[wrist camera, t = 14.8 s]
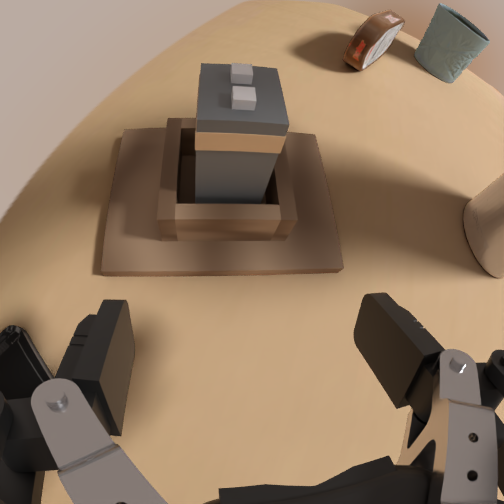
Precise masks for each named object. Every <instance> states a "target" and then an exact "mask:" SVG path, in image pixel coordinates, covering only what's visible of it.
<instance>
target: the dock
mask: <svg viewBox="0 0 504 504" xmlns="http://www.w3.org/2000/svg"><path fill="white" fill-rule="evenodd" d="M195 130H196V118H168V121H167V128H144V129H125V130H124V132H123V137H122V141H121V145H120V150H119V154H118V159H117V164H116V168H115V174H114V179H113V184H112V190H111V196H110V202H109V208H108V215H107V222H106V229H105V237H104V245H103V254H102V265H101V272H102V273H103V274H104V275H105V276H227V275H275V274H310V273H338V272H339V271H341V270H342V269H343V268H344V266H343V260H342V254H341V249H340V243H339V238H338V233H337V228H336V223H335V218H334V213H333V208H332V204H331V199H330V194H329V190H328V185H327V181H326V177H325V173H324V168H323V164H322V160H321V156H320V152H319V148H318V144H317V140H316V136H315V135H313V134H304V133H294V132H287V133H286V139H285V142H284V145H283V147H282V150H281V153H279V154H278V157H277V160H276V163H275V165H274V168H273V171H272V174H271V176H270V179H269V182H268V185H267V188H266V190H265V193H264V196H263V199H262V201H261V204H195V176H196V150H195Z"/></svg>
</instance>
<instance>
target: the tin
mask: <svg viewBox="0 0 504 504" xmlns="http://www.w3.org/2000/svg"><path fill="white" fill-rule="evenodd" d="M404 23H405V21H404V19H403V18H402V17H400V16H399V15H397V14H396V13H394V12H393V11H392V10H386V11H383V12H379V13H376V14H373V15H371V16H370V17H369V18H368V19H367V20H366V21H365V22H364V23H363V24H362V25H361V26H360V28H359V29H358V30H357V32H356V33H355V35H354V36H353V38H352V39H351V41H350V43H349V45H348V46H347V49H346V51H345V53H344V56H343V61H344V62H347V63H348V64H350V65H351V66H353V67H354V68H356V69H357V70H359V71H362V70H364V69H366V68H367V67H368V66H370V65H371V64H372V63H374V62H375V61H376V60H378V59H379V58H380V57H381V56H382V55H383V54H384V53H385V52H386V51H387V49H388V48H389V47H390V46H391V44H392V42H393V39H394V38H395V36H396V35H397V33H398V32H399V30H401V29H402V27H403V25H404Z"/></svg>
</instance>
